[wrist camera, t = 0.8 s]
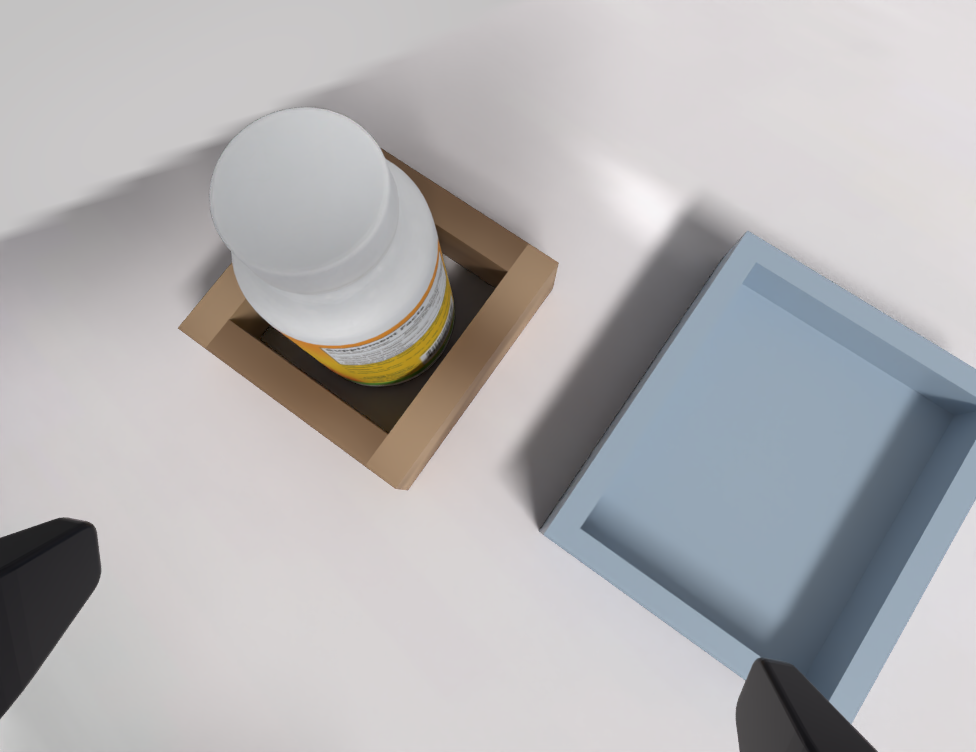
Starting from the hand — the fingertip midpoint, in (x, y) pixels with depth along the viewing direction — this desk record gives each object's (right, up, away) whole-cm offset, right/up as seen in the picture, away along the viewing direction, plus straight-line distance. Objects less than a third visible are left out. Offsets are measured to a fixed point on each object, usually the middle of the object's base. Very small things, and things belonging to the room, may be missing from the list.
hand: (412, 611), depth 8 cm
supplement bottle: (-3, +5, +15) cm, 16 cm away
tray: (+10, 0, +13) cm, 17 cm away
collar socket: (-3, +5, +15) cm, 16 cm away
